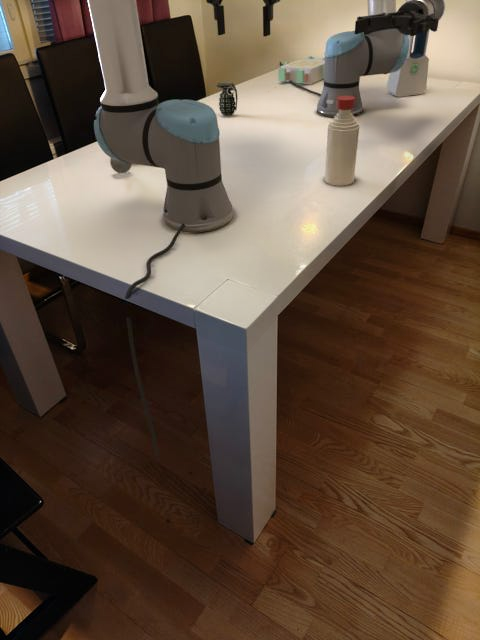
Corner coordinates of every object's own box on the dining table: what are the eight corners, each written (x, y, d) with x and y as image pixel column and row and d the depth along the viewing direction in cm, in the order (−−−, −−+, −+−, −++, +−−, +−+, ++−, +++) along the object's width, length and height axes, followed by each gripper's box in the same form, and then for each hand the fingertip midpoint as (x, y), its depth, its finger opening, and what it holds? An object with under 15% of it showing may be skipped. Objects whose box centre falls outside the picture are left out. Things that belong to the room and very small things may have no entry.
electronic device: (395, 97, 177) (408, -1, 159) (385, 92, 183) (397, -3, 164) (425, 93, 179) (442, -4, 161) (414, 89, 185) (429, -6, 167)
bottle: (357, 177, 121) (366, 96, 110) (348, 187, 116) (355, 105, 105) (330, 172, 124) (336, 94, 113) (320, 183, 119) (324, 102, 108)
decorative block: (301, 54, 217) (341, 57, 207) (300, 70, 221) (340, 74, 211) (269, 65, 201) (312, 69, 191) (269, 82, 205) (311, 87, 195)
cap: (356, 106, 110) (357, 96, 109) (350, 110, 108) (351, 100, 106) (339, 104, 112) (340, 94, 111) (333, 109, 109) (334, 99, 108)
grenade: (217, 117, 168) (214, 86, 162) (221, 112, 172) (219, 82, 166) (235, 117, 166) (233, 86, 160) (239, 113, 171) (238, 82, 165)
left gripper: (294, -71, 114) (292, 33, 127) (203, -65, 124) (210, 31, 137) (281, -70, 109) (280, 38, 122) (187, -64, 119) (196, 36, 132)
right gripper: (460, 34, 124) (434, 49, 110) (367, 31, 135) (333, 44, 122) (467, -1, 119) (441, 10, 105) (370, -1, 131) (335, 8, 117)
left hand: (243, 35), depth 129 cm, fingers open, 13 cm apart
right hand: (383, 28), depth 114 cm, fingers open, 13 cm apart
